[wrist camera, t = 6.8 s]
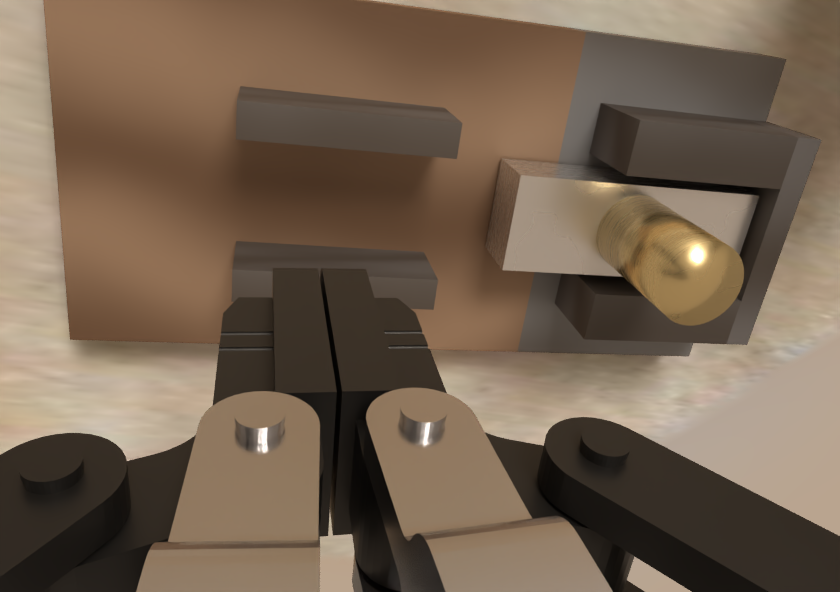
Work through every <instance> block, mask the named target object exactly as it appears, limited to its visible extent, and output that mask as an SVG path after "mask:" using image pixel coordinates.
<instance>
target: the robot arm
mask: <svg viewBox="0 0 840 592" xmlns="http://www.w3.org/2000/svg"><path fill="white" fill-rule="evenodd" d="M329 511H330V513H331V522H332V531H333V535H344V534H352V535H353V543H354V550H355V554H354V565H353V577H352V583H353V589H354V592H644V591H643V590H641V589H640V588H638V587H636V586H635V585H633V584H632V583H630V582H629V581H627V577H628V574H629V571H630V568H631V565H632V562H633V559H634V556H635V557H637V558H638V559H640V560H641V561H643V562H645V563H646V564H648V565H650V566H651V567H653V568H655V569H656V570H658V571H659V572H661V573H663V574H664V575H666V576H668V577H669V578H671V579H673V580H674V581H676V582H677V583H679V584H680V585H682V586H684V587H685V588H687V589H689V590H690V591H692V592H840V536H838V535H836V534H834V533H832V532H830V531H828V530H826V529H825V528H822V527H821V526H819V525H817V524H814V523H813V522H811V521H809V520H807V519H805V518H803V517H801V516H799V515H797V514H795V513H793V512H791V511H789V510H787V509H785V508H783V507H781V506H779V505H777V504H775V503H774V502H772V501H769V500H767V499H766V498H764V497H762V496H760V495H758V494H756V493H753V492H752V491H750V490H748V489H746V488H744V487H742V486H740V485H738V484H736V483H734V482H732V481H730V480H728V479H726V478H724V477H722V476H721V475H719V474H716V473H715V472H713V471H711V470H709V469H707V468H705V467H703V466H701V465H699V464H697V463H695V462H693V461H691V460H689V459H687V458H685V457H683V456H681V455H679V454H677V453H675V452H673V451H671V450H669V449H668V448H665V447H664V446H662V445H660V444H658V443H656V442H654V441H652V440H650V439H648V438H646V437H644V436H642V435H640V434H638V433H636V432H634V431H632V430H630V429H628V428H626V427H624V426H622V425H619V424H617V423H614V422H611V421H607V420H603V419H597V418H589V417H578V418H570V419H566V420H563V421H560V422H558V423H557V424H555V425H553V426H552V427H551V428H550V429H549V431H548V433H547V435H546V438H545V443H544V446H542V445H536V444H531V443H525V442H520V441H514V440H509V439H504V438H500V437H496V436H493V435H490V434H488V433H485V432H484V430H483V428H482V427H481V425H480V423H479V421H478V419H477V417H476V416H475V414H474V413H473V411H472V410H471V409H470V408H469V407H468V406H467V405H466V404H465V403H463V402H462V401H461V400H459V399H457V398H455V397H454V396H452V395H449V394H447V393H446V390H445V388H444V385H443V382H442V380H441V377H440V375H439V372H438V370H437V367H436V364H435V362H434V359H433V357H432V354H431V351H430V349H428V344H427V341H426V338H425V336H424V334H422V328H421V326H420V323H419V320H418V318H417V315H416V313H415V312H414V311H413V310H411V309H410V308H409V307H408V306H407V305H405V304H404V303H403V302H402V301H401V300H399V299H398V298H374V295H373V291H372V288H371V284H370V281H369V277H368V274H367V271H366V269H336V268H321V271H320V278H319V271H318V268H273V273H272V297H238V298H237V299H236V300H235V301H234V303H233V304H232V305H231V306H230V307H229V308H228V309H227V310H226V311H225V312H224V313H223V318H222V327H221V336H220V345H219V354H218V363H217V372H216V381H215V390H214V399H213V406H212V407H211V408H209V409H208V410H207V411H206V412H205V414H204V415H203V416H202V418H201V420H200V423H199V425H198V429H197V433H196V435H195V436H194V437H192V438H191V439H190V440H188V441H187V442H185V443H183V444H181V445H179V446H177V447H175V448H172V449H170V450H167V451H164V452H161V453H158V454H154V455H150V456H146V457H142V458H138V459H134V460H130V461H126V457H125V455H124V453H123V451H122V450H121V449H120V448H119V447H118V446H117V445H116V444H115V443H113V442H111V441H110V440H108V439H105V438H102V437H100V436H95V435H91V434H83V433H65V434H55V435H50V436H45V437H41V438H37V439H34V440H31V441H28V442H26V443H23V444H20V445H18V446H16V447H14V448H12V449H10V450H8V451H6V452H5V453H3V454H1V455H0V592H320V588H319V587H320V536H328V528H329Z"/></svg>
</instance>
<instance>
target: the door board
mask: <svg viewBox="0 0 840 592" xmlns="http://www.w3.org/2000/svg"><path fill="white" fill-rule="evenodd" d="M44 11H45V24H46V37H47V49H48V62H49V75H50V88H51V101H52V114H53V127H54V139H55V152H56V165H57V178H58V191H59V204H60V216H61V229H62V242H63V255H64V268H65V281H66V294H67V306H68V319H69V332H70V340H106V341H143V342H180V343H217V344H220V336H221V327H222V318H223V313H224V312H225V311H226V310H227V309H228V308H229V307H230V306H231V305H232V304H233V303H234V301H235V300H236V299H237V298H238V297H272V273H273V268H318V271H319V278H320V271H321V268H336V269H366V271H367V274H368V277H369V281H370V284H371V288H372V291H373V295H374V298H398V299H399V300H401V301H402V302H403V303H404V304H405V305H407V306H408V307H409V308H410V309H411V310H413V311H414V312H415V313H416V315H417V318H418V320H419V323H420V326H421V328H422V334H424V336H425V338H426V341H427V344H428V349H438V350H475V351H512V352H549V353H586V354H622V355H659V356H689V354H690V351H691V348H692V345H693V343H710V344H742V345H747V343H748V341H749V338H750V335H751V332H752V330H753V327H754V324H755V321H756V319H757V316H758V313H759V310H760V308H761V305H762V302H763V299H764V297H765V294H766V291H767V288H768V286H769V283H770V280H771V277H772V275H773V272H774V269H775V266H776V264H777V261H778V258H779V255H780V253H781V250H782V247H783V244H784V242H785V239H786V236H787V233H788V231H789V228H790V225H791V222H792V220H793V217H794V214H795V211H796V209H797V206H798V203H799V200H800V198H801V195H802V192H803V189H804V187H805V184H806V181H807V178H808V176H809V173H810V170H811V167H812V165H813V162H814V159H815V156H816V154H817V151H818V148H819V145H820V143H821V140H820V139H817V138H814V137H811V136H808V135H805V134H802V133H799V132H796V131H793V130H790V129H787V128H784V127H781V126H778V125H775V124H772V123H769V122H766V120H767V117H768V114H769V111H770V108H771V104H772V101H773V98H774V95H775V92H776V89H777V86H778V83H779V80H780V77H781V74H782V71H783V68H784V65H785V62H786V59H782V58H777V57H772V56H767V55H762V54H756V53H749V52H742V51H734V50H727V49H720V48H712V47H705V46H698V45H691V44H683V43H676V42H669V41H661V40H654V39H647V38H639V37H632V36H625V35H618V34H610V33H603V32H596V31H588V30H581V29H574V28H567V27H559V26H552V25H545V24H537V23H530V22H523V21H516V20H508V19H501V18H494V17H486V16H479V15H472V14H464V13H457V12H450V11H443V10H435V9H428V8H421V7H413V6H406V5H399V4H392V3H384V2H377V1H370V0H44ZM501 158H506V159H517V160H528V161H539V162H550V163H561V164H572V165H583V166H593V167H604V168H615V169H616V170H618V171H619V172H621V173H623V174H624V175H626V176H635V177H647V178H658V179H669V180H680V181H692V182H703V183H714V184H725V185H737V186H741V187H743V188H745V189H747V190H749V191H751V192H753V193H755V194H757V195H759V199H758V202H757V205H756V208H755V211H754V214H753V217H752V220H751V223H750V226H749V229H748V232H747V235H746V237H745V240H744V243H743V246H742V249H741V252H740V255H739V256H740V257H741V260H742V262H743V266H744V279H743V284H742V287H741V290H740V292H739V294H738V296H737V298H736V299H735V301H734V302H733V303H732V305H731V306H730V307H729V308H728V309H727V310H726V311H725V312H724V313H722V314H721V315H720V316H718V317H717V318H715V319H713V320H711V321H709V322H706V323H704V324H700V325H694V326H687V325H681V324H678V323H675V322H673V321H672V320H670V319H669V318H668V317H667V316H666V315H665V314H663V313H662V312H661V311H660V310H659V309H658V308H657V307H656V306H655V305H654V304H652V303H651V302H650V301H649V300H648V299H647V298H646V297H645V296H644V295H643V294H641V293H640V292H639V291H638V290H637V289H636V288H635V287H634V286H633V285H632V284H630V283H629V282H628V281H627V280H626V279H625V278H624V277H620V276H601V275H583V274H564V273H546V272H527V271H509V270H502V269H501V268H500V266H499V265H498V263H497V262H496V261H495V259H494V258H493V257H492V255H491V254H490V253H489V251H488V250H487V248H486V247H485V245H486V240H487V234H488V229H489V223H490V218H491V212H492V207H493V201H494V196H495V190H496V185H497V179H498V174H499V168H500V163H501Z"/></svg>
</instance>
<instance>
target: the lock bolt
mask: <svg viewBox="0 0 840 592" xmlns="http://www.w3.org/2000/svg"><path fill="white" fill-rule="evenodd" d="M758 199H759V195H757V194H755V193H753V192H751V191H749V190H747V189H745V188H743V187H741V186H737V185H725V184H714V183H703V182H692V181H680V180H669V179H658V178H647V177H635V176H626V175H624V174H623V173H621V172H619V171H618V170H616V169H615V168H604V167H593V166H583V165H572V164H561V163H550V162H539V161H528V160H517V159H506V158H501V163H500V168H499V174H498V179H497V185H496V190H495V196H494V201H493V207H492V212H491V218H490V223H489V229H488V234H487V240H486V245H485V247H486V248H487V250H488V251H489V253H490V254H491V255H492V257H493V258H494V259H495V261H496V262H497V263H498V265H499V266H500V268H501V269H502V270H509V271H527V272H546V273H564V274H583V275H601V276H620V277H624V278H625V279H626V280H627V281H628V282H629V283H630V284H632V285H633V286H634V287H635V288H636V289H637V290H638V291H639V292H640V293H641V294H643V295H644V296H645V297H646V298H647V299H648V300H649V301H650V302H651V303H652V304H654V305H655V306H656V307H657V308H658V309H659V310H660V311H661V312H662V313H663V314H665V315H666V316H667V317H668V318H669V319H670V320H672V321H673V322H675V323H678V324H681V325H687V326H694V325H700V324H704V323H706V322H709V321H711V320H713V319H715V318H717V317H718V316H720V315H721V314H722V313H724V312H725V311H726V310H727V309H728V308H729V307H730V306H731V305H732V303H733V302H734V301H735V299H736V298H737V296H738V294H739V292H740V290H741V287H742V284H743V279H744V266H743V262H742V260H741V257H740V256H739V255H740V252H741V249H742V246H743V243H744V240H745V237H746V235H747V232H748V229H749V226H750V223H751V220H752V217H753V214H754V211H755V208H756V205H757V202H758Z"/></svg>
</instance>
